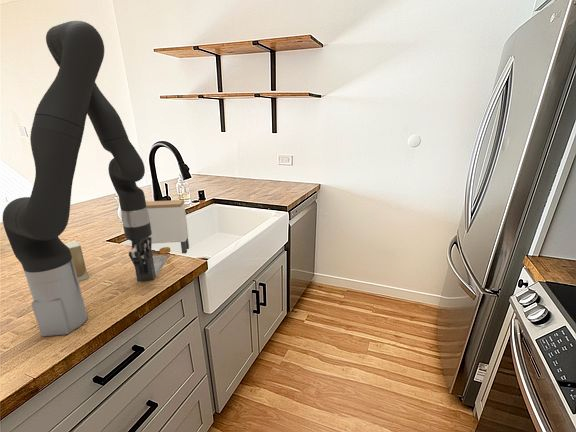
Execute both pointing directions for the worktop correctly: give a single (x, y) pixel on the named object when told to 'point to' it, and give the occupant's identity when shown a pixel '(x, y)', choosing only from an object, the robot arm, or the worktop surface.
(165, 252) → the token
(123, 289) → the worktop surface
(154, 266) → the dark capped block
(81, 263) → the skincare box
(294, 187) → the worktop surface
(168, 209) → the cabinet
